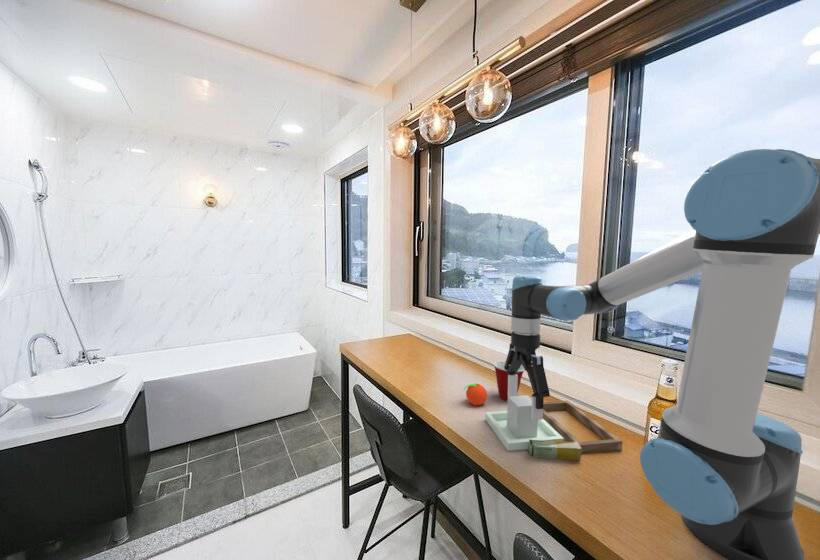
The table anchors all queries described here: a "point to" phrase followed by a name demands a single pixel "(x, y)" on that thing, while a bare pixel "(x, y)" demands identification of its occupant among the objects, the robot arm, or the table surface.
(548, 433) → the tray
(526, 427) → the stone block
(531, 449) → the medication box
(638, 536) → the table surface
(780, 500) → the robot arm
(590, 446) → the brown wooden frame
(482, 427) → the table surface
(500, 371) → the plastic cup
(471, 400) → the clementine
